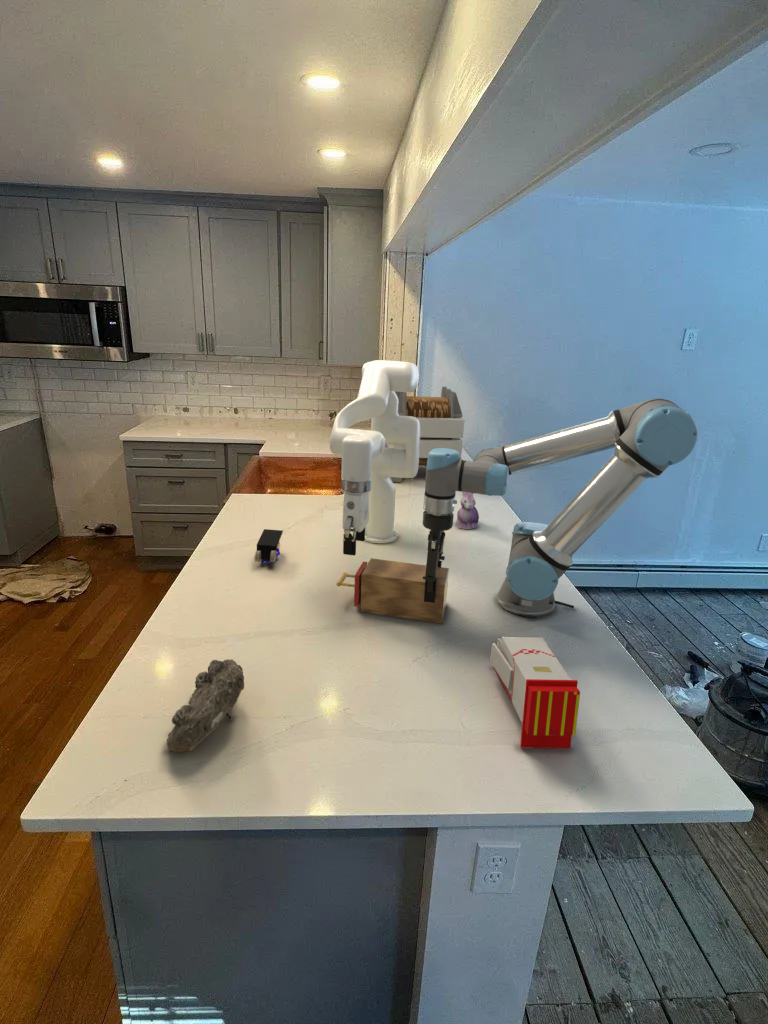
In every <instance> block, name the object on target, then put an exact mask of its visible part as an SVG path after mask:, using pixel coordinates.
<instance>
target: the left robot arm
mask: <svg viewBox="0 0 768 1024" xmlns="http://www.w3.org/2000/svg"><path fill="white" fill-rule="evenodd" d="M361 376H362V377H361V381H360V385H359V389H358V393H357V398H356V399H354V400H352V401H351V402H349V403H348V404H347V405H345V406H344V407H343V408H342V409H341V410H340V411H339V412H338V413H337V415H336V417H335V418H334V422H333V424H332V429H331V433H330V438H329V449H330V452H331V454H332V455H334V456H335V457H339V458H341V471H340V473H341V475H340V476H341V478H340V491H341V493H343V505H342V506H343V507H342V529H343V541H342V542H343V543H342V554H343V555H347V556H354V557H355V556H356V554H357V542H365V541H366V542H368V543H373V544H389V543H393V542H395V541H397V540H398V537H399V534H398V532H397V531H396V530H395V528H394V527H395V510H396V509H395V508H396V507H395V506H396V491H397V490H396V486H395V484H394V482H392V481H391V479H390V478H389V477H399V478H402V479H412V478H415V477H416V476H417V474H418V471H419V467H420V466H419V449H420V424H419V421H418V419H416V418H415V417H412V416H400V415H399V414H398V403H399V401H398V397H397V395H396V394H395V392H406V393H413V392H414V391H416V389H417V387H418V385H419V381H420V372H419V368H418V366H417V364H416V363H412V362H409V361H403V360H402V361H401V360H387V359H386V360H384V359H383V360H382V359H375V360H371V361H367V362H365V363H364V364H363V365H362V367H361ZM368 420H370V422H371V423H370V426H371V427H370V430H369V429H358V428H350V427H352V426H354V425H356V424H358V423H361V422H364V421H368ZM385 444H391V445H402V446H404V447H405V449H399V448H388V447H385Z"/></svg>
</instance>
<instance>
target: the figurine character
mask: <svg viewBox="0 0 768 1024" xmlns="http://www.w3.org/2000/svg"><path fill="white" fill-rule="evenodd" d="M283 533H284V531H283V530H279V529H269V528H268V529H266V528H264V529H263V530H262V533H261V534H260V536H259V539H258V541H257V543H256V550H255V554H254V562H255V563H260V567H263V566H264V564H265V563H269V567H270V568H272V567H273V564H274V563H275V562H277V560H278V559H277V558H278V557H279V556H281V552H280V549H281V543H280V540H281V538H282V535H283Z"/></svg>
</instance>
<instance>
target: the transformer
mask: <svg viewBox="0 0 768 1024" xmlns="http://www.w3.org/2000/svg"><path fill="white" fill-rule="evenodd" d="M394 392H395V391H394ZM440 393H441V394H440V396H415V395H414V396H413V395H412V396H411V395H407V394H408V392H395V394H396V395H397V397H398V401H399V403H398V414H399V415H400V416H412V417H415V418H416V419H418V421H419V424H420V449H419V466H418V467H427V460H428V453H429V452H430V451H431V450H433V449H436V448H448V449H453V450H456V451H457V452H458V453H459V458H460V460H463V459H462V453H463V442H464V441H463V440H462V439H463V438H464V431H465V430H464V429H465V419H464V418H463V411H462V408H461V405H460V402H459V398H458V395H457V392H455V391H453V390H452V389H451V388H447V386H442V387H441V392H440ZM385 447H388V448H399V449H405V447H404V446H402V445H391V444H385ZM389 478H390V479H391V481H392V482H393V483H402V482H403V478H399V477H389Z"/></svg>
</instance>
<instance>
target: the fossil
mask: <svg viewBox="0 0 768 1024" xmlns="http://www.w3.org/2000/svg"><path fill="white" fill-rule="evenodd" d="M243 670H244V669H243V667H242V665H240V664H237V662H236V661H235V660H234V659H232V658H231V659H227V658H226V659H224V660H223V661H222V660H217V659H212V660H211V661H210V663H209V665H208V666H207V671H201V672H199V673H198V674H197V675H196V676H195V680H194V684H195V685H194V687H195V689H194V690H193V693H192V694H191V697H190V698H189V700H188V704H184V705H182V706H181V707H180V709H177V710H176V711H175V713H174V715H173V716H172V718H171V723H172V724H173V727H172V730H171V731H170V732H168V734H167V738H166V741H167V742H166V745H167V749H168V750H169V751H173V752H174V753H176V754H178V753H182V752H188V751H189V752H192V751H193V750H195V748H196V747H197V746H199V744H200V743H201V742H203V741H204V740H205V739H206V738H207V737H208V736H209V735H210V734H211V733H212V732H214V730H215V729H217V727H218V726H219V724H220V722H221V721H222V720H223V719H224V718H225V716H226V717H227V719H229V720H233V717H232V715H230V714H229V710H230V709H231V708H234V706H235V704H236V703H237V702H238V699H239V697H240V695H241V693H242V691H243V690H245V689H244V688H245V675H244V671H243Z"/></svg>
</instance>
